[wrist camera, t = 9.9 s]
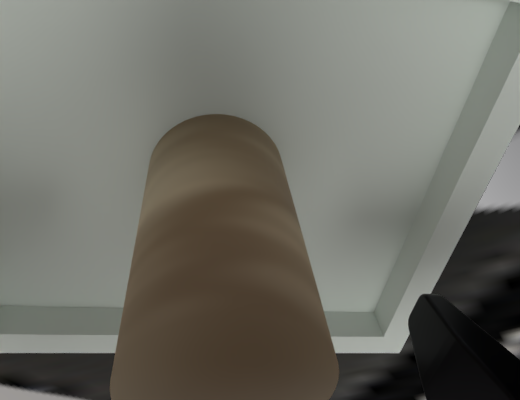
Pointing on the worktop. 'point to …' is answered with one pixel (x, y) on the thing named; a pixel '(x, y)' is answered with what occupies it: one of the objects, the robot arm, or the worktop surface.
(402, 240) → the tray
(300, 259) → the dowel
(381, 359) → the worktop surface
